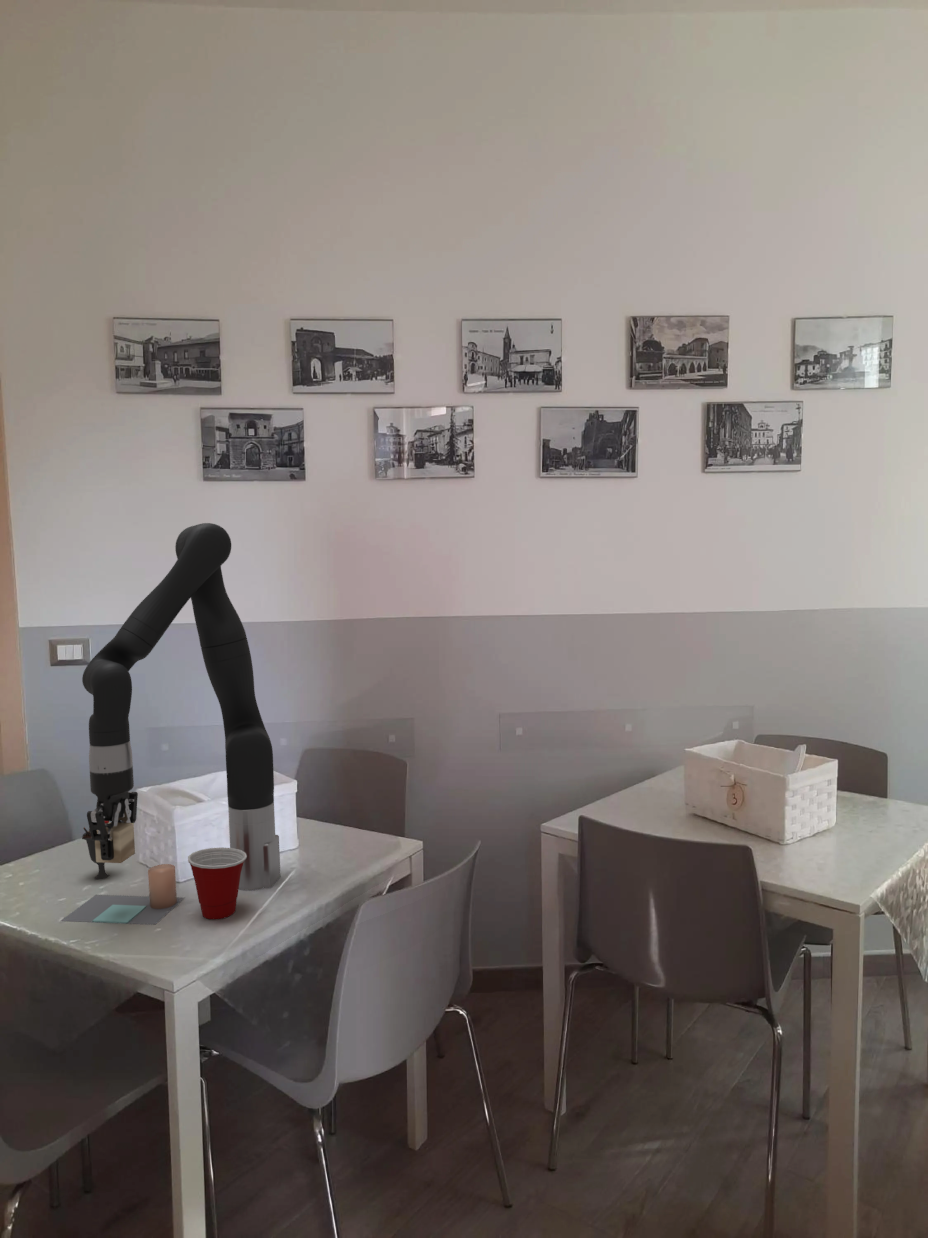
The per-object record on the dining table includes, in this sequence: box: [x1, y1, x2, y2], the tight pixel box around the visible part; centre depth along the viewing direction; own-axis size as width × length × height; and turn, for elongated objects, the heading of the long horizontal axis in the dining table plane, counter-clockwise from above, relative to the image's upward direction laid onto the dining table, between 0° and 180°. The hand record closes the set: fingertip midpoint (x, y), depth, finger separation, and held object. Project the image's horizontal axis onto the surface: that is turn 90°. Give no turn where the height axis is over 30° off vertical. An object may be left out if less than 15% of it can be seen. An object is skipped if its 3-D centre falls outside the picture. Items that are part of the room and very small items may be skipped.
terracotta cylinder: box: [147, 863, 178, 909], centre depth 164 cm, size 5×5×7 cm
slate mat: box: [60, 894, 185, 926], centre depth 163 cm, size 19×12×1 cm, turn 83°
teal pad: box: [91, 905, 146, 924], centre depth 160 cm, size 7×7×1 cm
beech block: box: [95, 821, 136, 864], centre depth 159 cm, size 5×5×6 cm
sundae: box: [81, 820, 110, 880], centre depth 178 cm, size 7×7×15 cm
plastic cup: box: [187, 847, 247, 921], centre depth 159 cm, size 11×11×12 cm
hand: (115, 853), depth 159 cm, fingers closed on beech block, 5 cm apart
